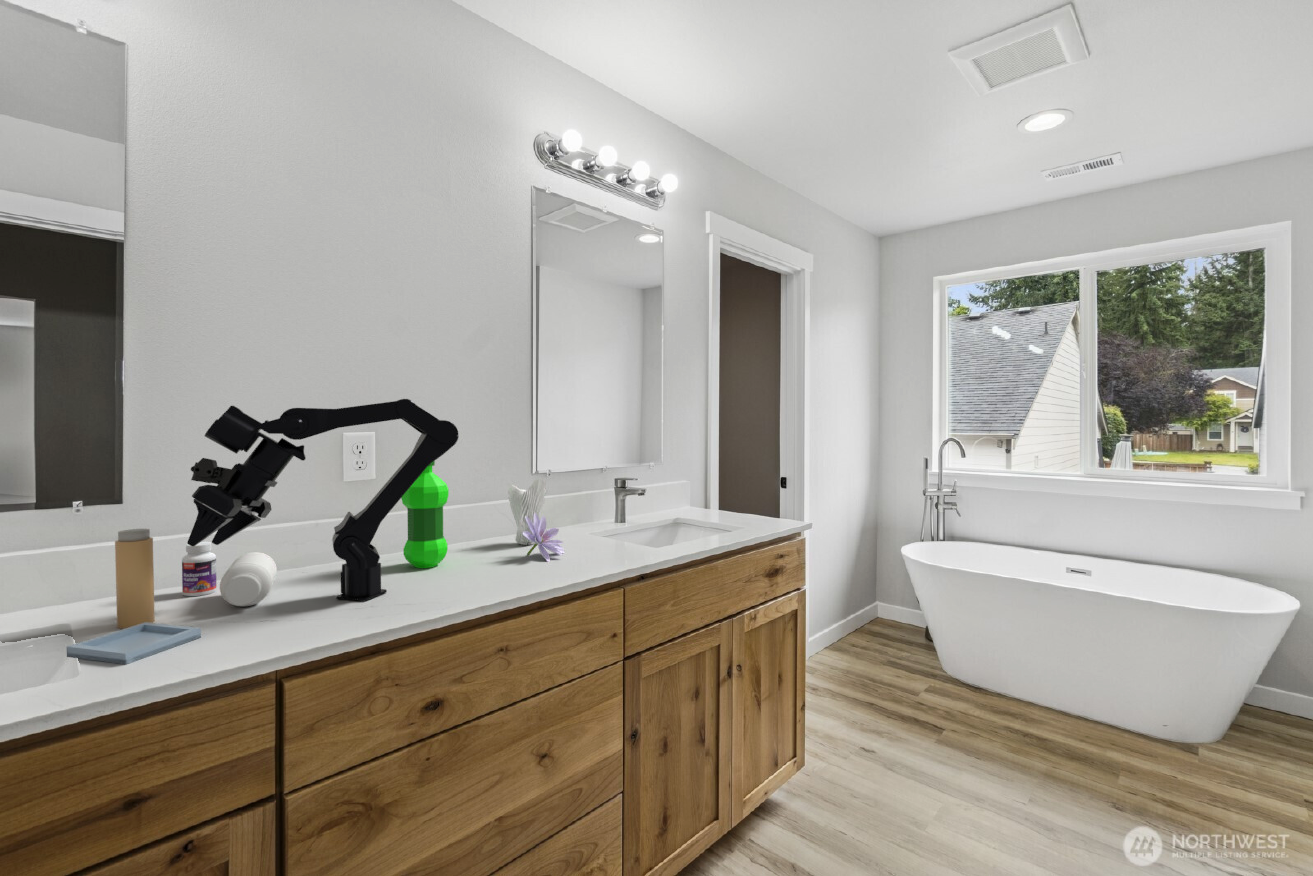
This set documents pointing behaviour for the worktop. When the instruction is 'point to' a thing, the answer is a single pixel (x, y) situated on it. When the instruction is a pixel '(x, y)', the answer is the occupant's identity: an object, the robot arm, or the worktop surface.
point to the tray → (133, 642)
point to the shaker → (134, 578)
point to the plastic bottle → (426, 520)
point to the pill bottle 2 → (248, 579)
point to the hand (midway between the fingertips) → (202, 544)
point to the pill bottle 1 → (199, 570)
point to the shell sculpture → (526, 506)
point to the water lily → (542, 537)
